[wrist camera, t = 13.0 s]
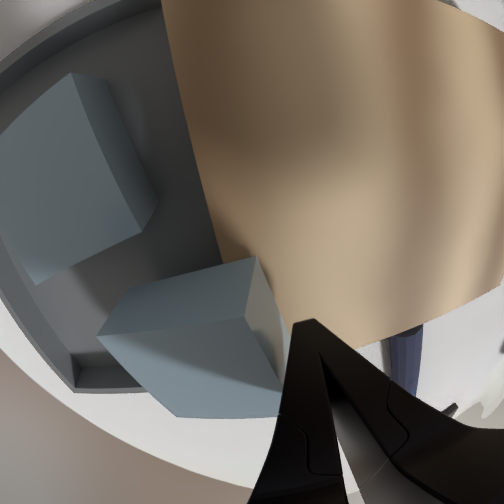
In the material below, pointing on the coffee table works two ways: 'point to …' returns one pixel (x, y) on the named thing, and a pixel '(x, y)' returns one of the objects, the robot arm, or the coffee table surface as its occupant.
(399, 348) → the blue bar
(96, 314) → the tray
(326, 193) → the oak board
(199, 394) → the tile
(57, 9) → the coffee table surface
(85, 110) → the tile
